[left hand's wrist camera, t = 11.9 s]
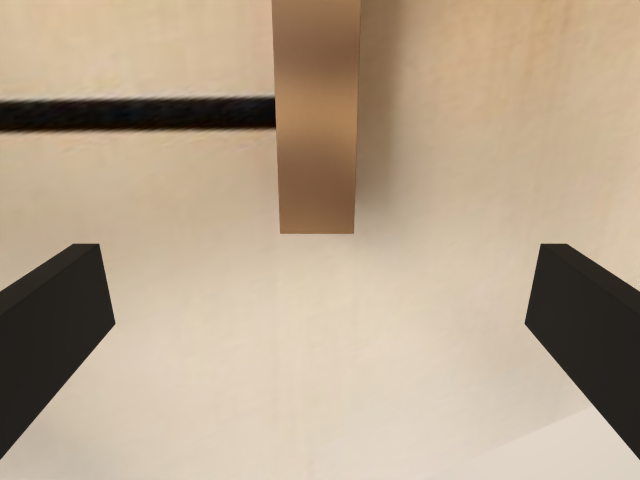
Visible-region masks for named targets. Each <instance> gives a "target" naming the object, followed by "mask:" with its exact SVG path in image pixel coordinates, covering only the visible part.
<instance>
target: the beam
mask: <svg viewBox="0 0 640 480" xmlns="http://www.w3.org/2000/svg"><path fill="white" fill-rule="evenodd" d="M360 16H361V0H272V21H273V49H274V76H275V104H276V131H277V159H278V186H279V214H280V233H281V234H353V233H354V210H355V178H356V145H357V113H358V81H359V48H360Z"/></svg>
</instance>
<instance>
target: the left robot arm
mask: <svg viewBox="0 0 640 480" xmlns="http://www.w3.org/2000/svg"><path fill="white" fill-rule="evenodd" d="M114 325H115V319H114V314H113V309H112V304H111V299H110V295H109V290H108V285H107V280H106V275H105V270H104V265H103V260H102V255H101V250H100V245H99V244H72V245H71V246H69V247H68V248H66V249H65V250H63V251H62V252H60V253H59V254H57V255H55V256H54V257H52V258H51V259H49V260H48V261H46V262H45V263H43V264H42V265H40V266H39V267H37V268H36V269H34V270H33V271H31V272H30V273H28V274H26V275H25V276H23V277H22V278H20V279H19V280H17V281H16V282H14V283H13V284H11V285H10V286H8V287H7V288H5V289H4V290H2V291H0V460H1V458H2V457H3V456H4V455H5V454H6V452H7V451H8V450H9V449H10V448H11V447H12V445H13V444H14V443H15V442H16V441H17V439H18V438H19V437H20V436H21V435H22V434H23V432H24V431H25V430H26V429H27V428H28V426H29V425H30V424H31V423H32V422H33V421H34V419H35V418H36V417H37V416H38V415H39V413H40V412H41V411H42V410H43V409H44V408H45V406H46V405H47V404H48V403H49V402H50V401H51V399H52V398H53V397H54V396H55V395H56V393H57V392H58V391H59V390H60V389H61V388H62V386H63V385H64V384H65V383H66V382H67V380H68V379H69V378H70V377H71V376H72V375H73V373H74V372H75V371H76V370H77V369H78V367H79V366H80V365H81V364H82V363H83V362H84V360H85V359H86V358H87V357H88V356H89V354H90V353H91V352H92V351H93V350H94V349H95V347H96V346H97V345H98V344H99V343H100V341H101V340H102V339H103V338H104V337H105V336H106V334H107V333H108V332H109V331H110V330H111V328H112V327H113V326H114ZM525 325H526V326H527V327H528V328H529V330H530V331H531V332H532V333H533V334H534V336H535V337H536V338H537V339H538V340H539V341H540V343H541V344H542V345H543V346H544V347H545V349H546V350H547V351H548V352H549V353H550V354H551V356H552V357H553V358H554V359H555V360H556V362H557V363H558V364H559V365H560V366H561V367H562V369H563V370H564V371H565V372H566V373H567V375H568V376H569V377H570V378H571V379H572V380H573V382H574V383H575V384H576V385H577V386H578V388H579V389H580V390H581V391H582V392H583V393H584V395H585V396H586V397H587V398H588V399H589V401H590V402H591V403H592V404H593V405H594V406H595V408H596V409H597V410H598V411H599V412H600V413H601V415H602V416H603V417H604V418H605V419H606V420H607V422H608V423H609V424H610V425H611V426H612V428H613V429H614V430H615V431H616V432H617V433H618V435H619V436H620V437H621V438H622V439H623V441H624V442H625V443H626V444H627V445H628V447H629V448H630V449H631V450H632V451H633V452H634V454H635V455H636V456H637V457H638V458H639V460H640V291H638V290H636V289H635V288H633V287H632V286H630V285H629V284H627V283H626V282H624V281H623V280H621V279H620V278H618V277H617V276H615V275H614V274H612V273H610V272H609V271H607V270H606V269H604V268H603V267H601V266H600V265H598V264H597V263H595V262H594V261H592V260H591V259H589V258H588V257H586V256H585V255H583V254H581V253H580V252H578V251H577V250H575V249H574V248H572V247H571V246H569V245H568V244H541V245H540V250H539V255H538V260H537V265H536V270H535V275H534V280H533V285H532V290H531V294H530V299H529V304H528V309H527V314H526V319H525Z"/></svg>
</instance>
